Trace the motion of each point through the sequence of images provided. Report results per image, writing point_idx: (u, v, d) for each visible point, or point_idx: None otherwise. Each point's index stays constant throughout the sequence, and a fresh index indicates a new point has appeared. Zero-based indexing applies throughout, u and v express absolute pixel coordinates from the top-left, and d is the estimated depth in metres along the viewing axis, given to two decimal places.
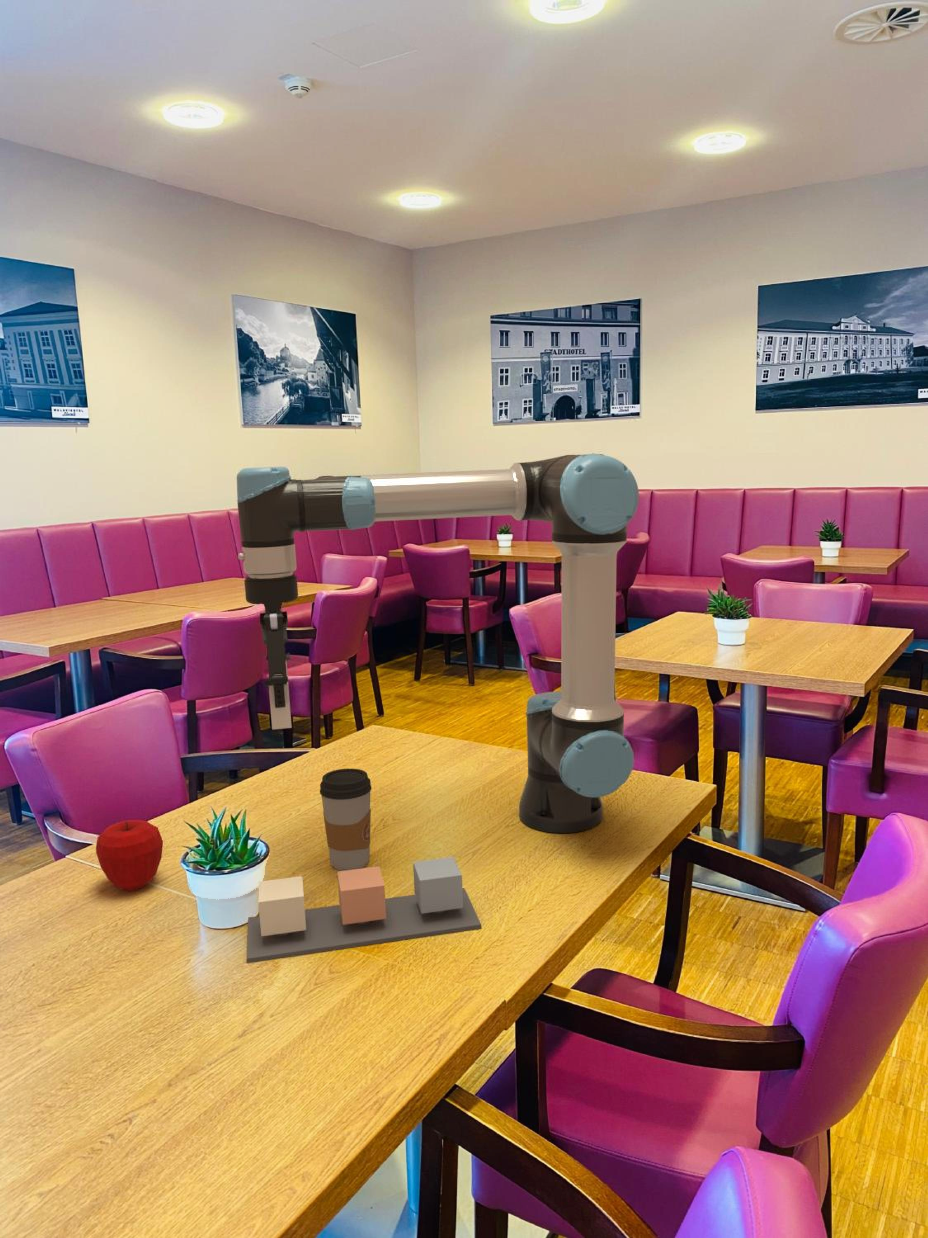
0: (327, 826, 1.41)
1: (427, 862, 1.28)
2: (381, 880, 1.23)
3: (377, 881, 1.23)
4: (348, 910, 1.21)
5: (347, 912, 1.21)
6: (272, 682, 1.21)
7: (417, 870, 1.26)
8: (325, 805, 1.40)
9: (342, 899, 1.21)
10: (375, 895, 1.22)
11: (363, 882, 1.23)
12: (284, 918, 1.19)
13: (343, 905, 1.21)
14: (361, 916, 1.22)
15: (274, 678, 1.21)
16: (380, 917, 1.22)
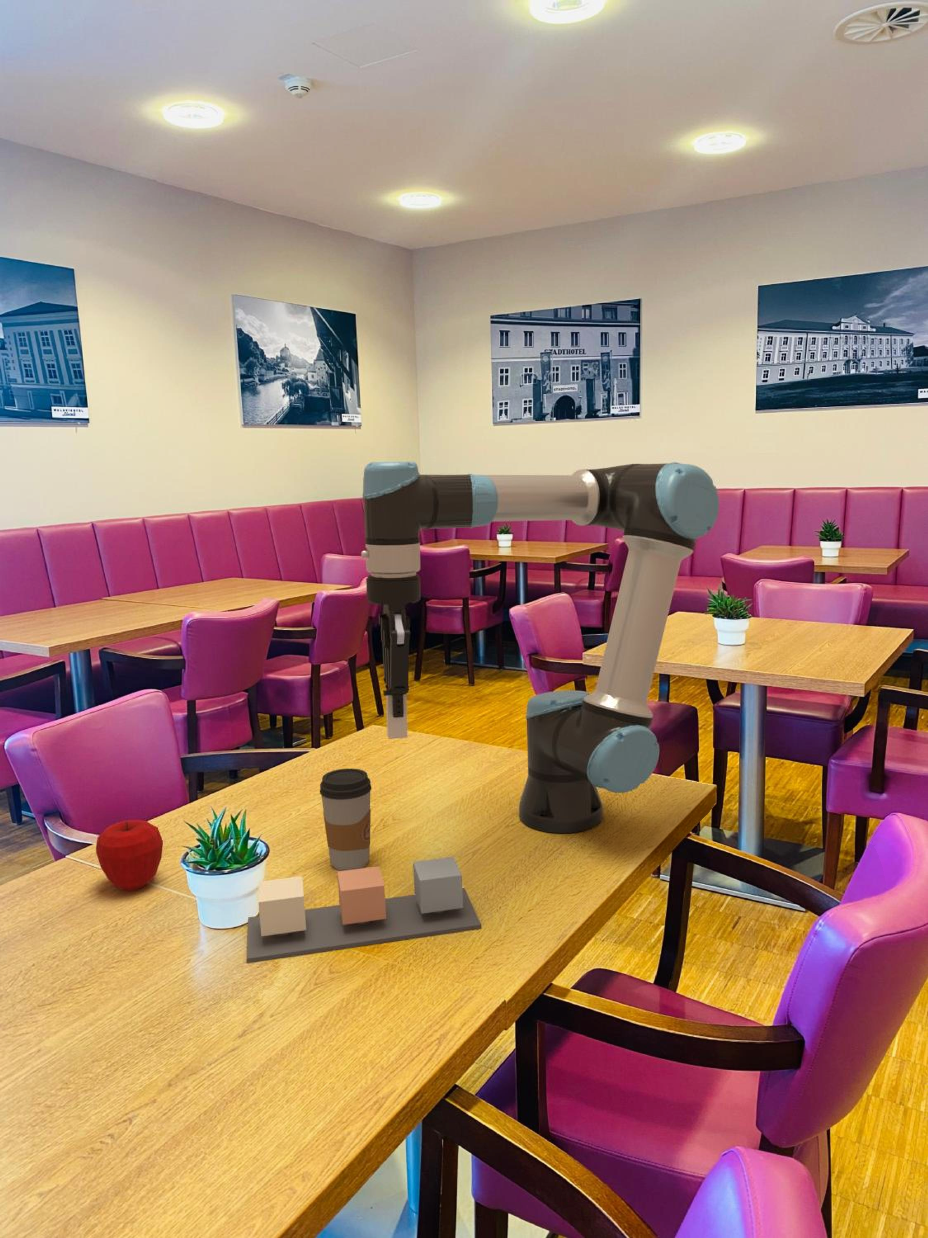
0: (327, 826, 1.41)
1: (427, 862, 1.28)
2: (381, 880, 1.23)
3: (377, 881, 1.23)
4: (348, 910, 1.21)
5: (347, 912, 1.21)
6: (394, 692, 1.22)
7: (417, 870, 1.26)
8: (325, 805, 1.40)
9: (342, 899, 1.21)
10: (375, 895, 1.22)
11: (363, 882, 1.23)
12: (284, 918, 1.19)
13: (343, 905, 1.21)
14: (361, 916, 1.22)
15: (396, 688, 1.22)
16: (380, 917, 1.22)
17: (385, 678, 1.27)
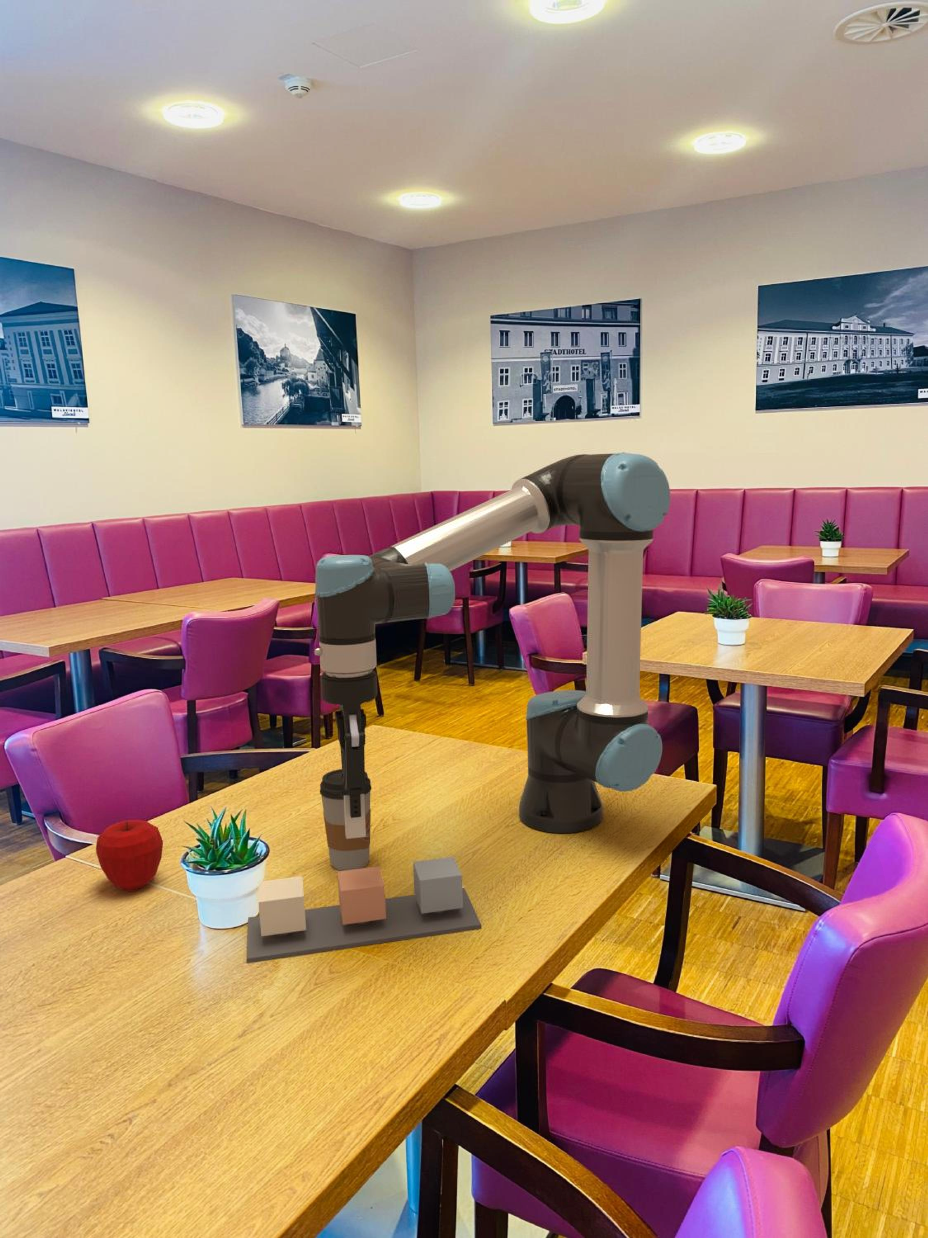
0: (327, 826, 1.41)
1: (427, 862, 1.28)
2: (381, 880, 1.23)
3: (377, 881, 1.23)
4: (348, 910, 1.21)
5: (347, 912, 1.21)
6: (350, 794, 1.18)
7: (417, 870, 1.26)
8: (325, 805, 1.40)
9: (342, 899, 1.21)
10: (375, 895, 1.22)
11: (363, 882, 1.23)
12: (284, 918, 1.19)
13: (343, 905, 1.21)
14: (361, 916, 1.22)
15: (352, 789, 1.18)
16: (380, 917, 1.22)
17: (343, 775, 1.23)
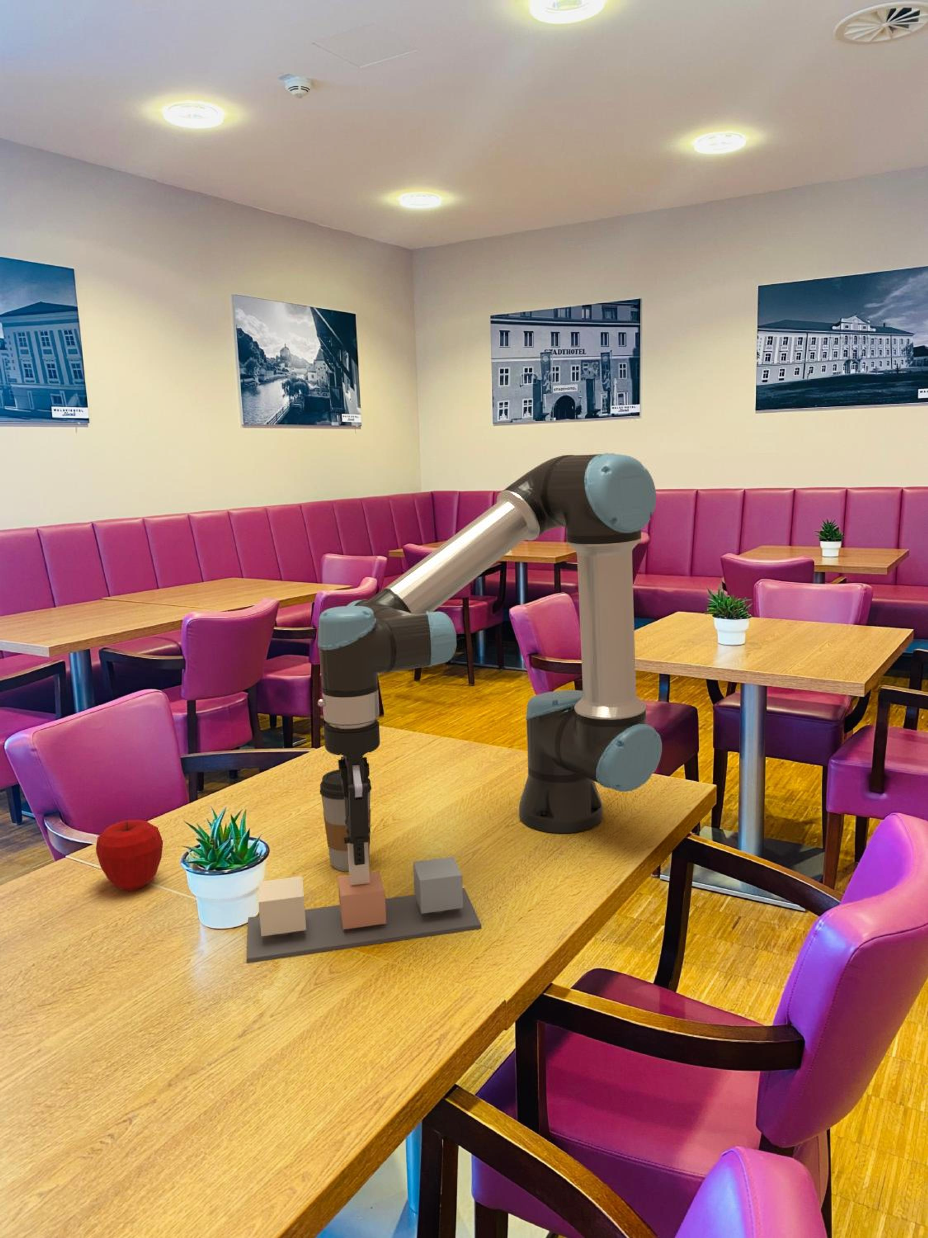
0: (327, 826, 1.41)
1: (427, 862, 1.28)
2: (381, 885, 1.23)
3: (378, 886, 1.23)
4: (348, 915, 1.21)
5: (347, 917, 1.21)
6: (354, 842, 1.19)
7: (417, 870, 1.26)
8: (325, 805, 1.40)
9: (342, 904, 1.21)
10: (376, 900, 1.22)
11: (363, 887, 1.23)
12: (284, 918, 1.19)
13: (343, 910, 1.21)
14: (361, 921, 1.22)
15: (356, 838, 1.19)
16: (380, 922, 1.23)
17: (346, 821, 1.25)
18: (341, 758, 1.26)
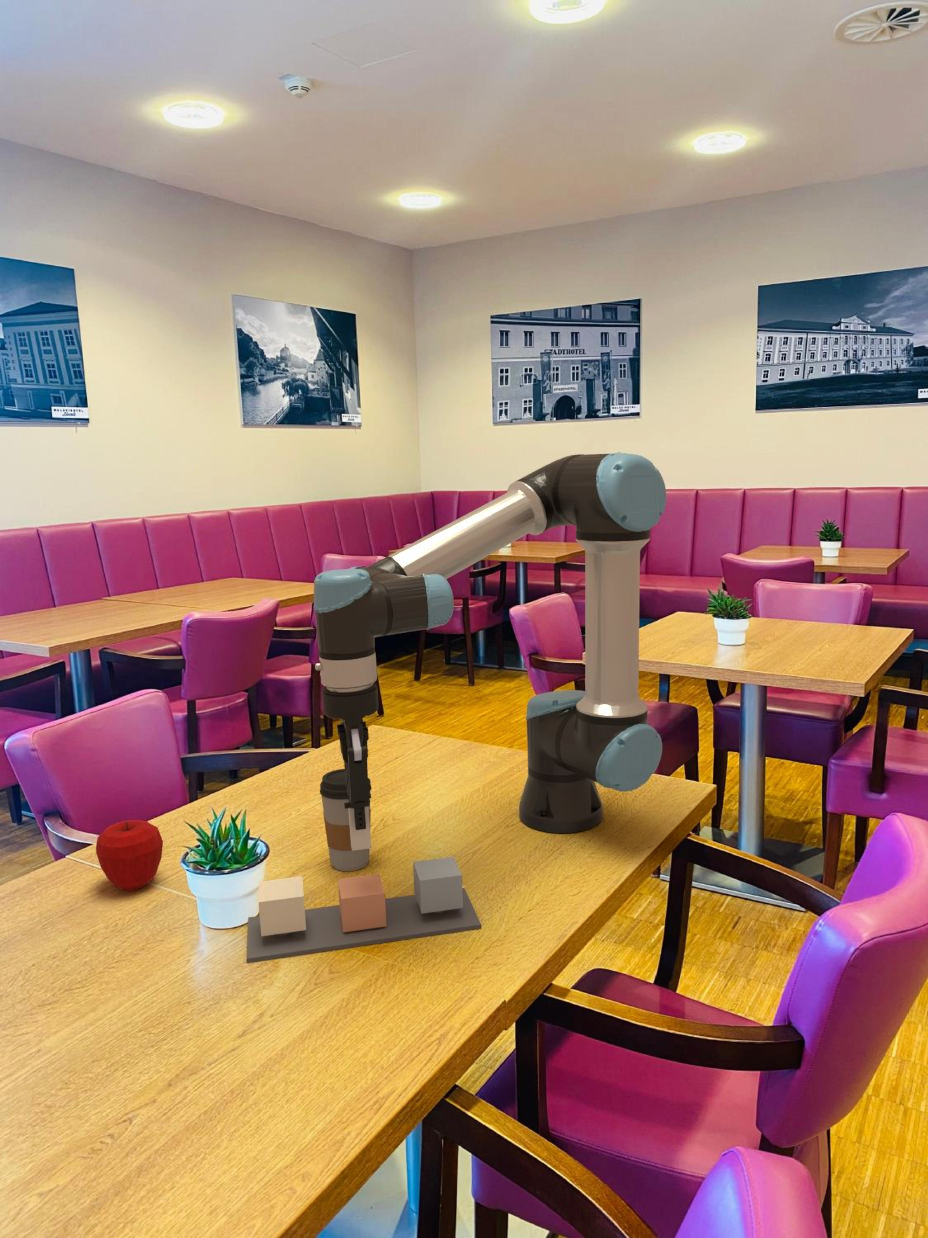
0: (327, 826, 1.41)
1: (427, 862, 1.28)
2: (381, 888, 1.23)
3: (378, 889, 1.23)
4: (348, 918, 1.21)
5: (347, 920, 1.21)
6: (354, 807, 1.18)
7: (417, 870, 1.26)
8: (325, 805, 1.40)
9: (342, 907, 1.21)
10: (376, 903, 1.22)
11: (363, 889, 1.23)
12: (284, 918, 1.19)
13: (343, 913, 1.21)
14: (361, 924, 1.22)
15: (356, 802, 1.18)
16: (380, 925, 1.23)
17: (347, 787, 1.24)
18: (340, 724, 1.25)
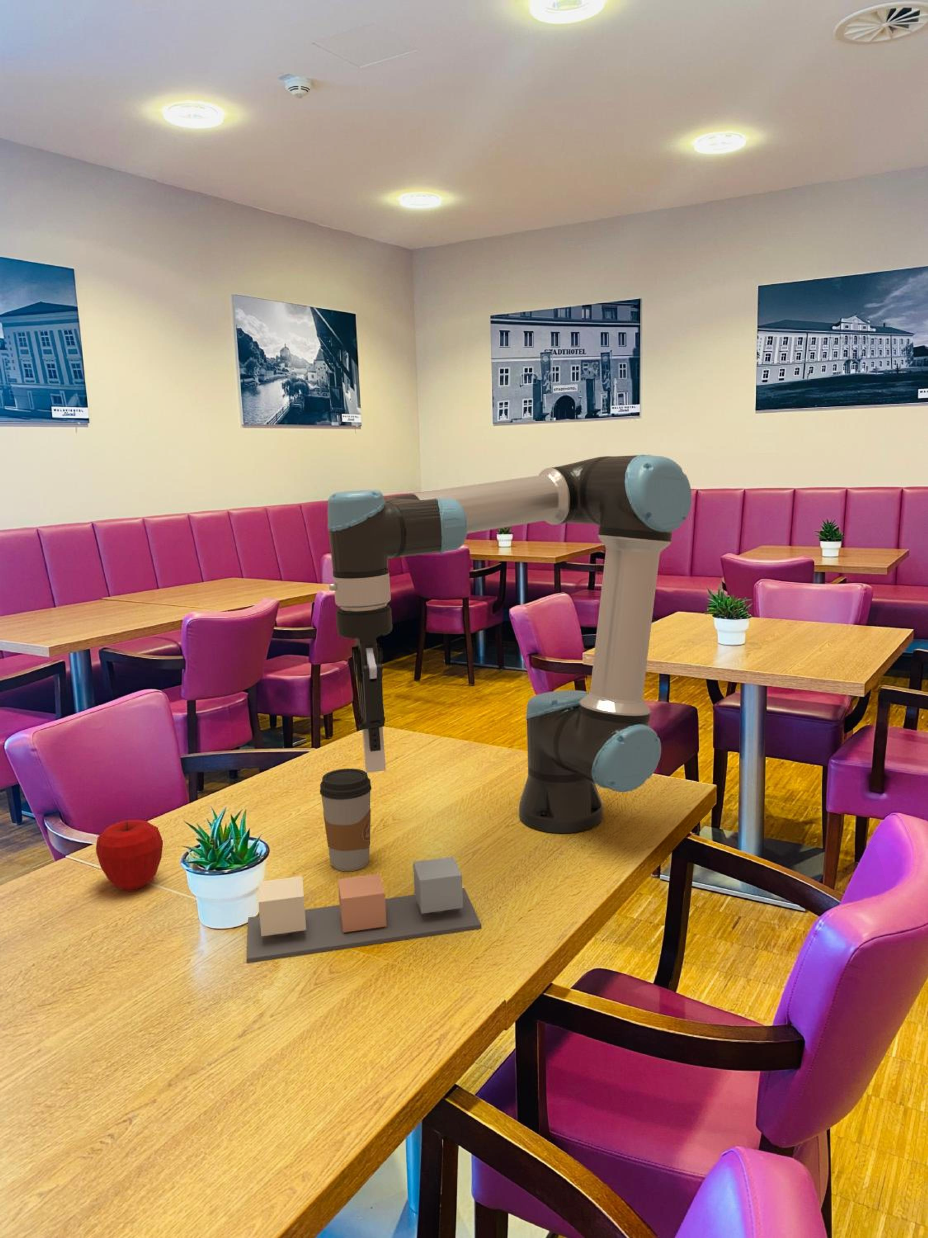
0: (327, 826, 1.41)
1: (427, 862, 1.28)
2: (381, 888, 1.23)
3: (378, 889, 1.23)
4: (348, 918, 1.21)
5: (347, 920, 1.21)
6: (369, 726, 1.19)
7: (417, 870, 1.26)
8: (325, 805, 1.40)
9: (342, 907, 1.21)
10: (376, 903, 1.22)
11: (363, 889, 1.23)
12: (284, 918, 1.19)
13: (343, 913, 1.21)
14: (361, 924, 1.22)
15: (371, 722, 1.19)
16: (380, 925, 1.23)
17: (360, 710, 1.25)
18: None
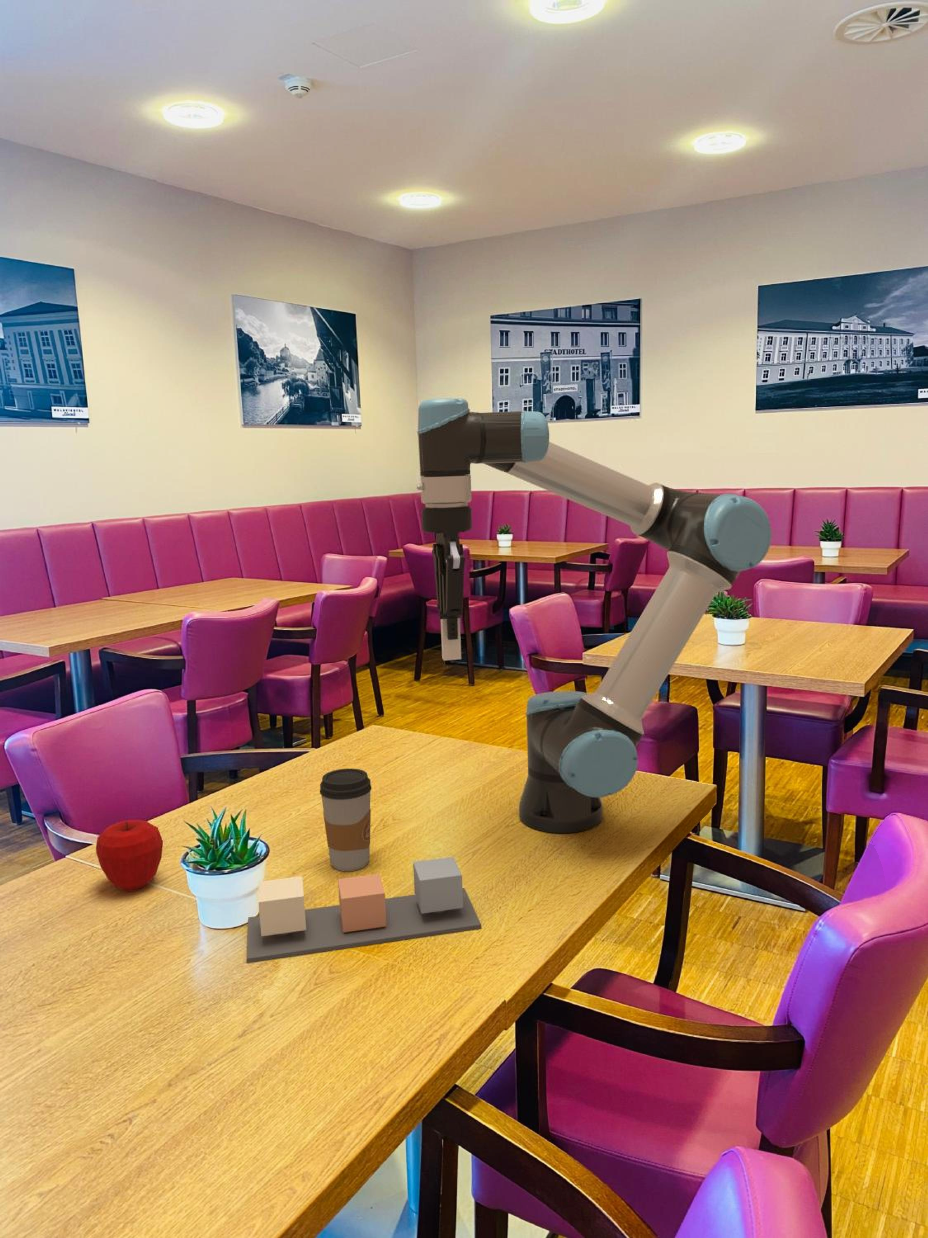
0: (327, 826, 1.41)
1: (427, 862, 1.28)
2: (381, 888, 1.23)
3: (378, 889, 1.23)
4: (348, 918, 1.21)
5: (347, 920, 1.21)
6: (449, 614, 1.31)
7: (417, 870, 1.26)
8: (325, 805, 1.40)
9: (342, 907, 1.21)
10: (376, 903, 1.22)
11: (363, 889, 1.23)
12: (284, 918, 1.19)
13: (343, 913, 1.21)
14: (361, 924, 1.22)
15: (451, 611, 1.31)
16: (380, 925, 1.23)
17: (439, 605, 1.37)
18: (433, 549, 1.38)
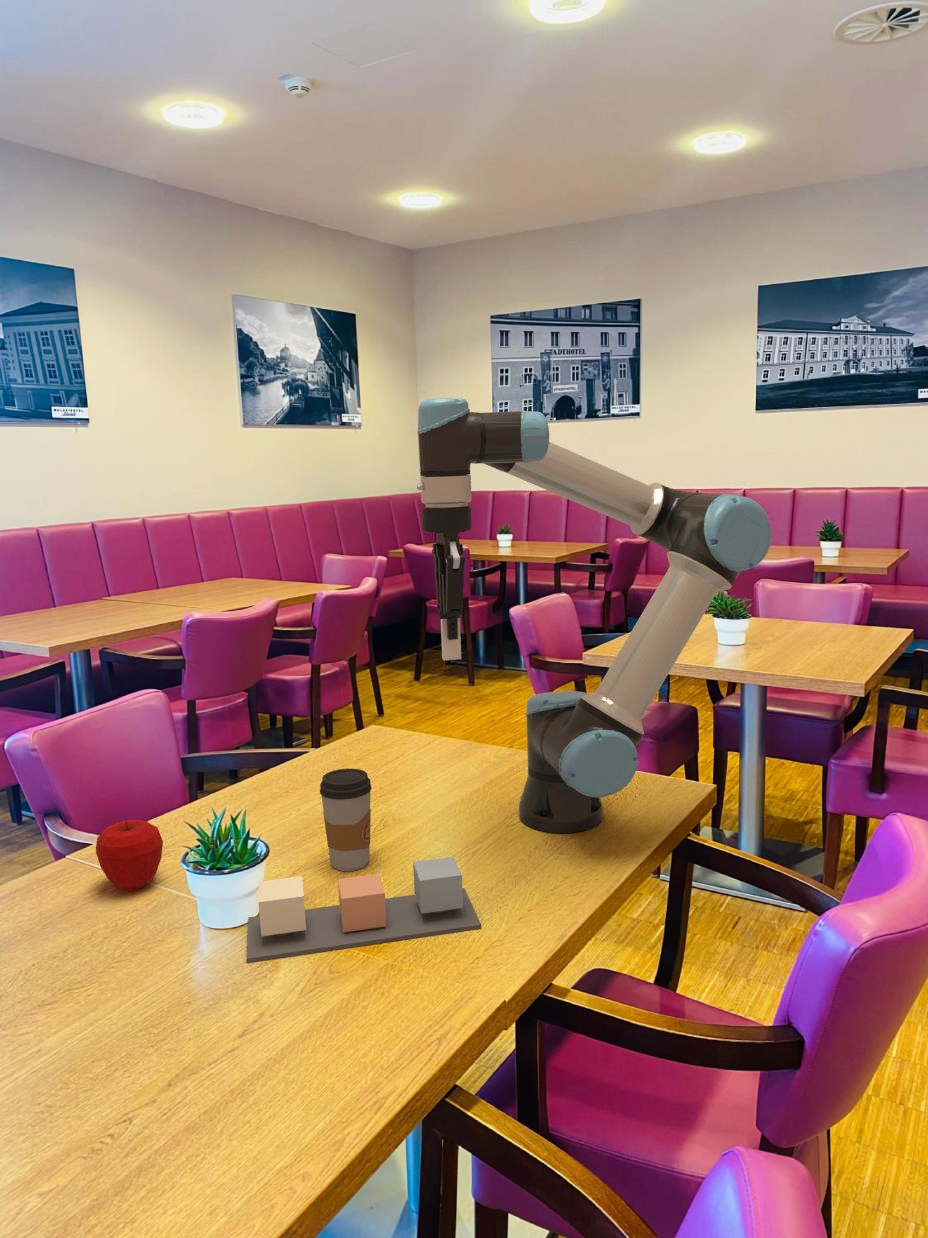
0: (327, 826, 1.41)
1: (427, 862, 1.28)
2: (381, 888, 1.23)
3: (378, 889, 1.23)
4: (348, 918, 1.21)
5: (347, 920, 1.21)
6: (449, 614, 1.31)
7: (417, 870, 1.26)
8: (325, 805, 1.40)
9: (342, 907, 1.21)
10: (376, 903, 1.22)
11: (363, 889, 1.23)
12: (284, 918, 1.19)
13: (343, 913, 1.21)
14: (361, 924, 1.22)
15: (451, 610, 1.31)
16: (380, 925, 1.23)
17: (439, 605, 1.37)
18: (433, 549, 1.38)
